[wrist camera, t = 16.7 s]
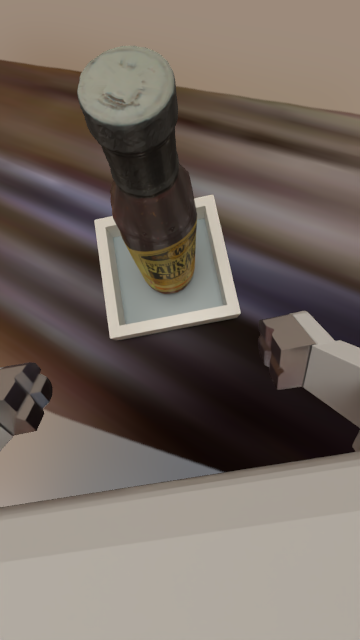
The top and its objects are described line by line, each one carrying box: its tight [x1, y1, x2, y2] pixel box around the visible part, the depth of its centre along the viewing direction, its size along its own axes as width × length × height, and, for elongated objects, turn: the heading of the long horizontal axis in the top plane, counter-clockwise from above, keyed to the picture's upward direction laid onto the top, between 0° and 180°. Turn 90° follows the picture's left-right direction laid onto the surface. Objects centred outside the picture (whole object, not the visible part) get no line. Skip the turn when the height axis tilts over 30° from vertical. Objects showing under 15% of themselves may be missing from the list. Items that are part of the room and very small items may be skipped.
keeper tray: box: [94, 195, 241, 340], centre depth 28 cm, size 14×14×3 cm
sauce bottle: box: [78, 46, 197, 294], centre depth 19 cm, size 6×6×20 cm
